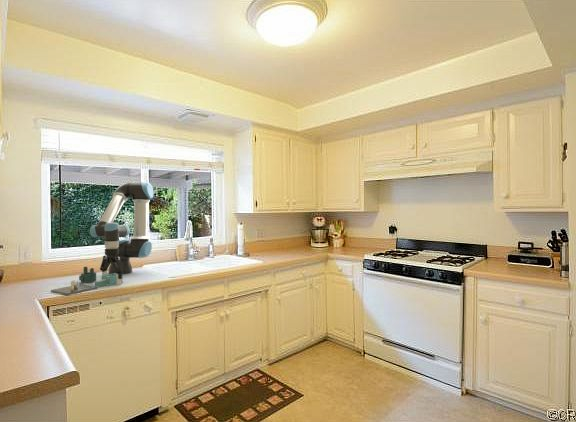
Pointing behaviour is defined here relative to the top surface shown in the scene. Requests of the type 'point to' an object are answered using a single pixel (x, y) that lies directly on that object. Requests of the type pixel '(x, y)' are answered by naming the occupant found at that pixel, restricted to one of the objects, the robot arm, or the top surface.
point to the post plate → (68, 289)
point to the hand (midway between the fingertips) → (112, 283)
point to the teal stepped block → (107, 280)
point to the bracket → (88, 276)
